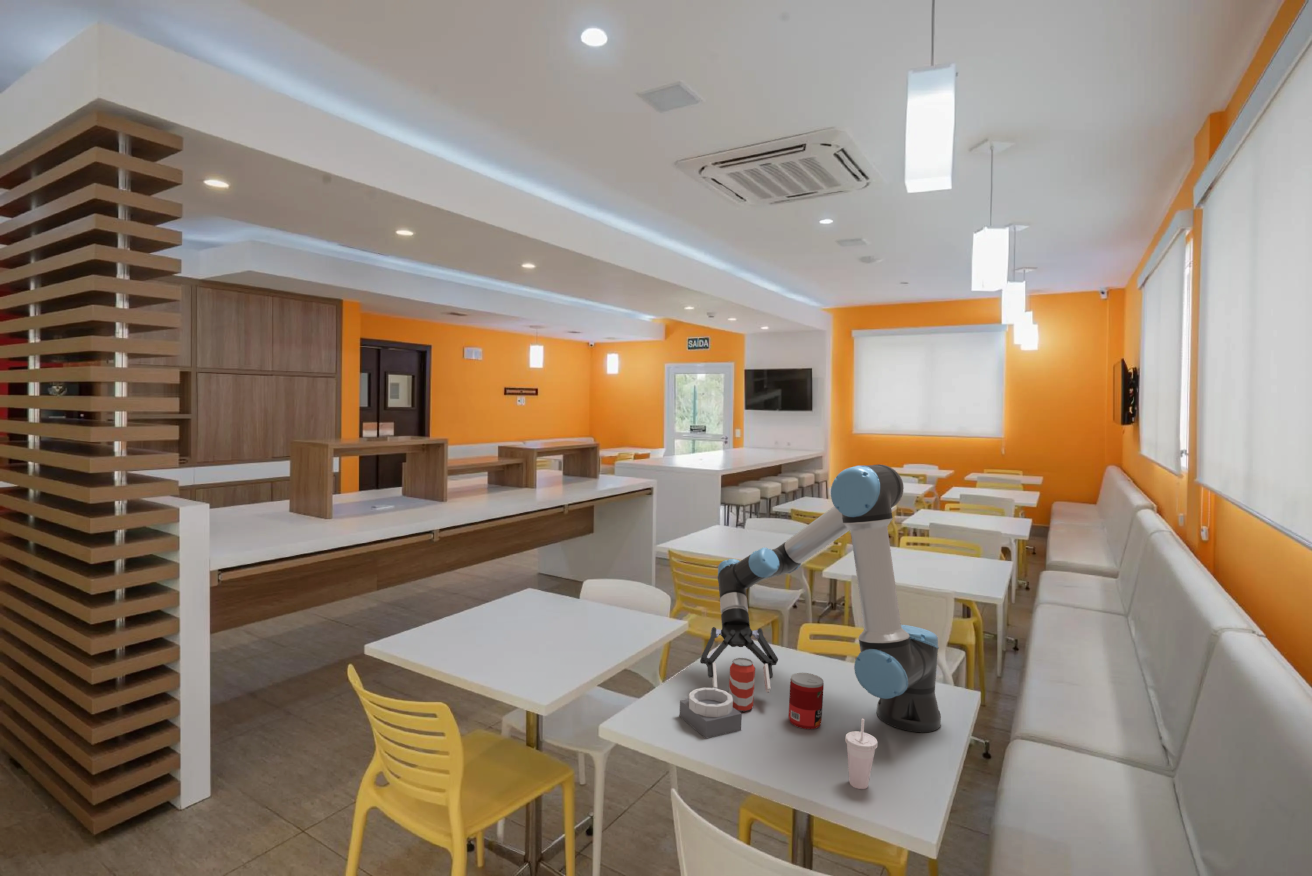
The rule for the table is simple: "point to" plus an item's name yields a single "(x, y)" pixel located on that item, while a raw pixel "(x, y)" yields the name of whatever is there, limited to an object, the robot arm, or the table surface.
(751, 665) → the beverage can
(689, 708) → the mount
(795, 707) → the canned food
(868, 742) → the smoothie
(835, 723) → the table surface
